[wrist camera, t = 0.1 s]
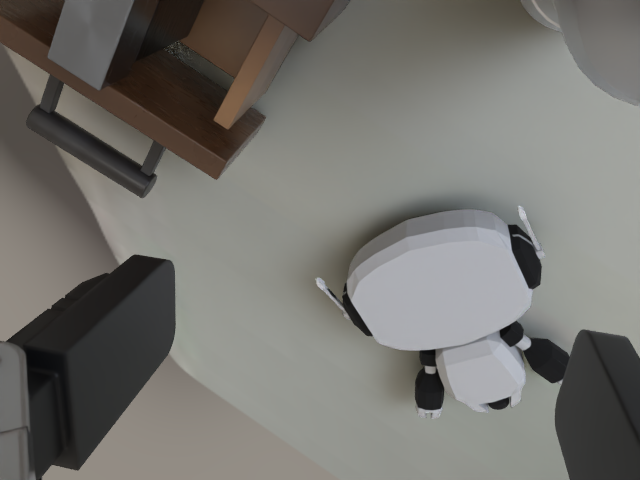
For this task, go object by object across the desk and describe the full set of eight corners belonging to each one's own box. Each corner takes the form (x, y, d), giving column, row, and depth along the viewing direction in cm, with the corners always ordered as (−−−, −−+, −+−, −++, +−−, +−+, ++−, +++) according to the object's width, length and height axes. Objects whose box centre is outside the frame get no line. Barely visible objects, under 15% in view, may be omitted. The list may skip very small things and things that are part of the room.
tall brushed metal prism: (175, -59, 28) (78, -47, 20) (218, -29, 28) (137, -8, 21) (143, 22, 30) (45, 57, 23) (182, 48, 30) (99, 92, 23)
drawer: (221, 195, 36) (176, 251, 30) (27, 73, 34) (-59, 106, 28) (392, -99, 26) (375, -101, 20) (135, -289, 24) (37, -350, 19)
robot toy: (588, 349, 38) (510, 163, 32) (605, 403, 34) (521, 204, 28) (417, 392, 43) (319, 237, 36) (415, 443, 39) (306, 281, 33)
